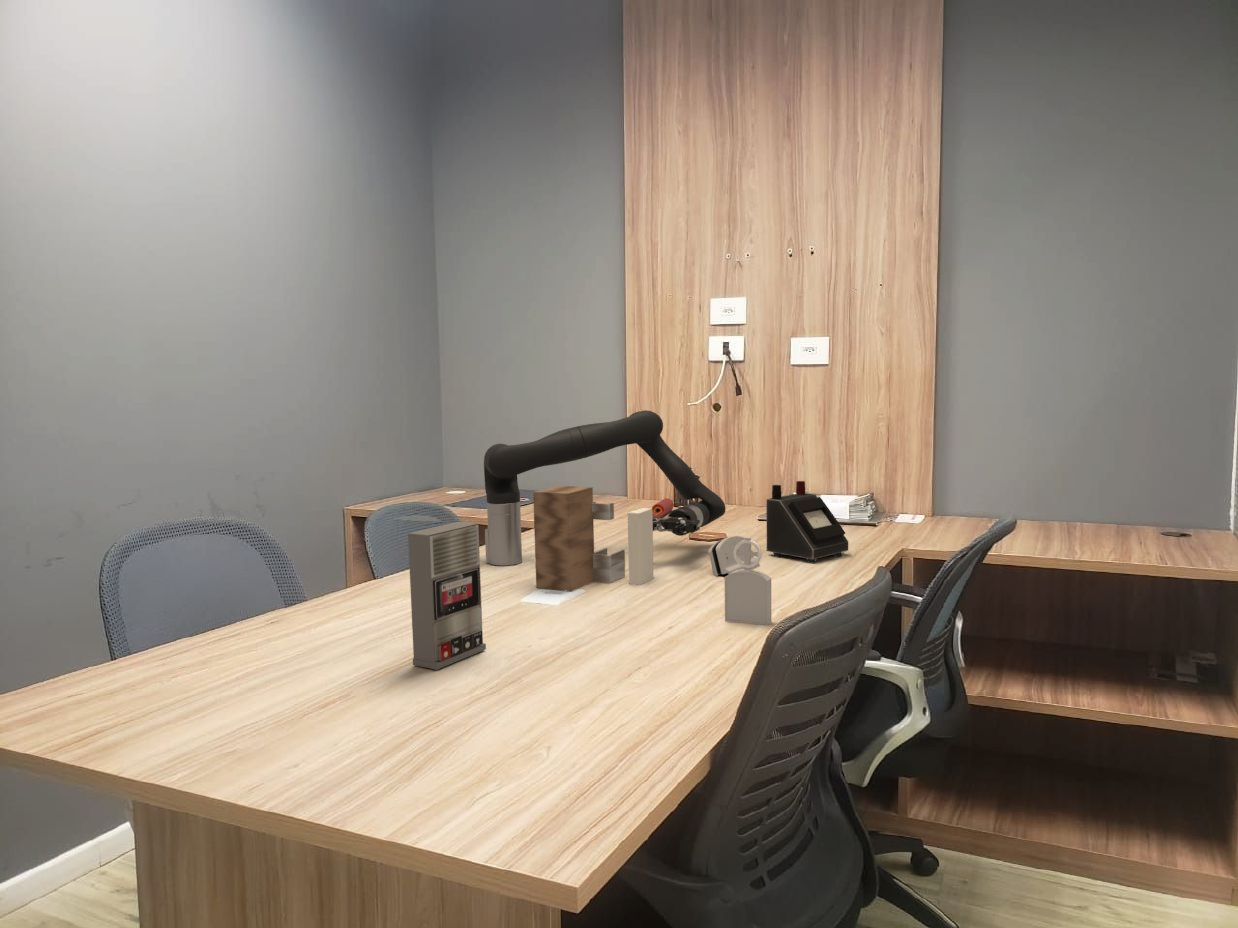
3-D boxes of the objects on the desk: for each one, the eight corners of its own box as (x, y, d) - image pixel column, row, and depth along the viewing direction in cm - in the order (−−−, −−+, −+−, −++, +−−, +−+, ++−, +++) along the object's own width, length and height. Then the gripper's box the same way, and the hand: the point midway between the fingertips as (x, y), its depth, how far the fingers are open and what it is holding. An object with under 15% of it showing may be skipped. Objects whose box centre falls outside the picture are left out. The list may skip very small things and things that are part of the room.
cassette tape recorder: (437, 671, 170) (431, 535, 167) (412, 666, 173) (406, 533, 171) (487, 650, 182) (482, 523, 179) (463, 646, 185) (458, 521, 182)
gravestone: (767, 625, 195) (767, 540, 193) (724, 620, 199) (724, 537, 197) (771, 621, 198) (771, 537, 196) (728, 617, 202) (728, 535, 200)
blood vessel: (645, 531, 307) (645, 516, 307) (631, 531, 309) (630, 516, 308) (673, 511, 347) (673, 498, 347) (660, 511, 349) (660, 498, 348)
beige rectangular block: (629, 583, 234) (627, 512, 232) (643, 577, 241) (641, 508, 239) (639, 584, 233) (638, 513, 231) (653, 578, 240) (652, 508, 238)
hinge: (730, 578, 238) (718, 540, 239) (715, 582, 241) (703, 545, 242) (760, 565, 251) (749, 530, 252) (746, 569, 254) (734, 534, 255)
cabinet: (536, 587, 232) (533, 491, 229) (575, 571, 249) (573, 482, 247) (588, 593, 225) (586, 494, 223) (625, 576, 242) (623, 484, 240)
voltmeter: (813, 564, 252) (814, 491, 250) (766, 556, 264) (766, 485, 262) (849, 555, 263) (849, 484, 260) (802, 547, 275) (802, 480, 273)
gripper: (661, 505, 264) (636, 514, 249) (709, 507, 257) (685, 517, 243) (662, 531, 265) (637, 542, 250) (709, 534, 258) (686, 545, 244)
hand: (661, 529), depth 247 cm, fingers open, 8 cm apart
